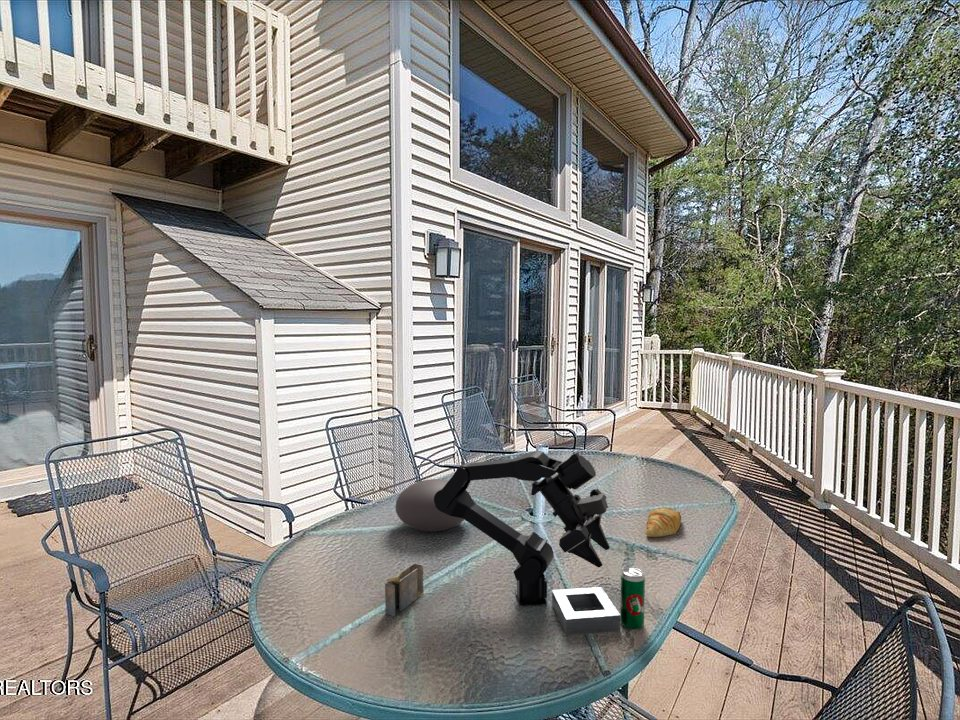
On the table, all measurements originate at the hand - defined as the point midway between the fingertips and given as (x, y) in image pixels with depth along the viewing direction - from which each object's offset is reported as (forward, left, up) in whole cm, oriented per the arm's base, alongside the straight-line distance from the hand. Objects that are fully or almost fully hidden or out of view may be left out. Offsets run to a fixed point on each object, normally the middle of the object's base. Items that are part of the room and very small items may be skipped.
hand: (604, 557), depth 117 cm
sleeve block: (-5, 0, -14) cm, 14 cm away
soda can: (+5, -4, -14) cm, 15 cm away
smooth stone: (-37, +56, -14) cm, 68 cm away
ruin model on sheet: (-45, +11, -14) cm, 49 cm away
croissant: (+35, +44, -14) cm, 59 cm away
